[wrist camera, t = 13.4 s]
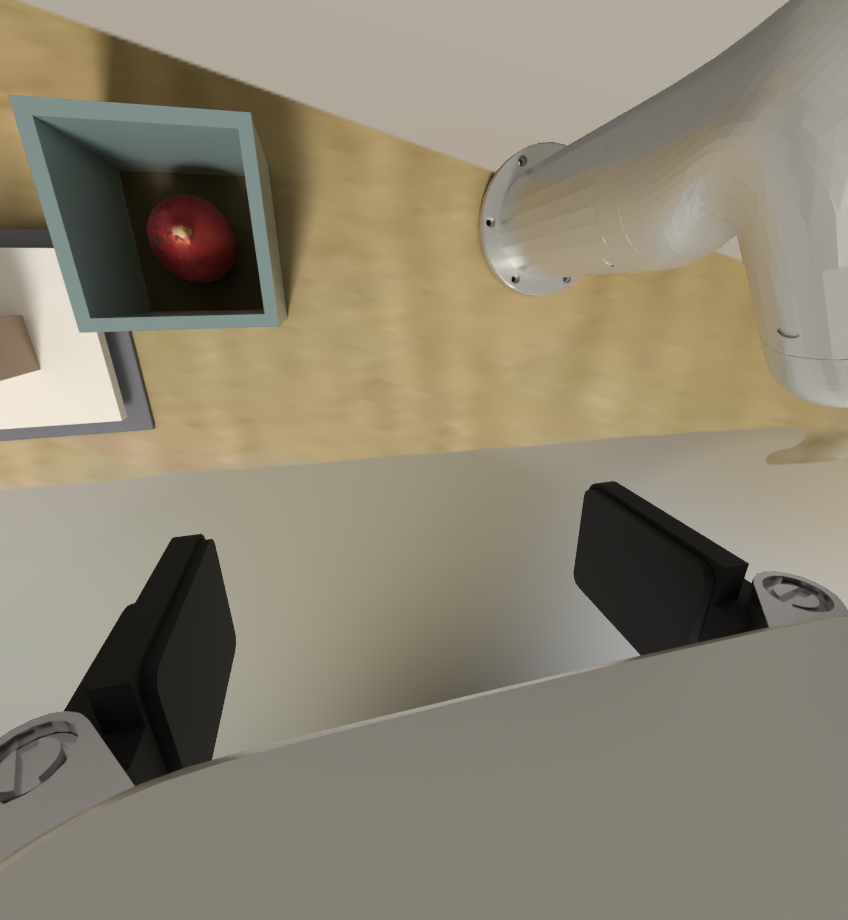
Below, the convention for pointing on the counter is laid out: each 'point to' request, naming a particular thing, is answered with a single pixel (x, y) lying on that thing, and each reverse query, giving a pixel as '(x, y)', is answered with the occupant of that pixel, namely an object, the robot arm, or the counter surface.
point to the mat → (121, 360)
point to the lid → (49, 350)
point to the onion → (191, 238)
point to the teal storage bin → (105, 209)
